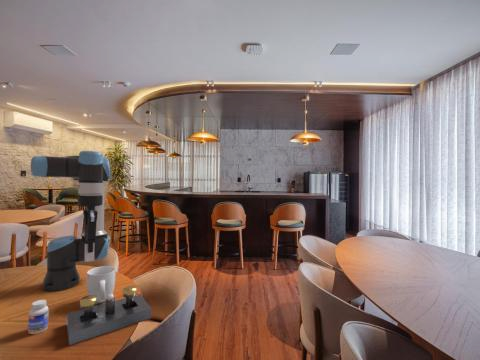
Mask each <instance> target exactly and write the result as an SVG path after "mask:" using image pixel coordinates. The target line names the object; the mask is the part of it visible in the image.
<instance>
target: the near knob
mask: <svg viewBox="0 0 480 360" xmlns="http://www.w3.org/2000/svg"><path fill="white" fill-rule="evenodd" d="M97 304H98V303H97V296H96V295H85V296H83V297H82V298H80V299H79V308H80V310H83V309H84V317H85V318H88V317H91V316H92V315H93V307H94V306H98V305H97Z"/></svg>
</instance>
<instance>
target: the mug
mask: <svg viewBox="0 0 480 360" xmlns="http://www.w3.org/2000/svg"><path fill="white" fill-rule="evenodd" d="M115 286H116V268H115V267H114V266H113V265H111V266H110V265H102V266H101V265H100V266H97V267H93V268H90V269H89V270H87V272H86V291H87V294H88V295H96V296H97V304H104V303H105V300H106V299H107V295H108V294H114V293H113V292H114V290H115ZM88 295H87V296H88Z"/></svg>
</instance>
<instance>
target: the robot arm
mask: <svg viewBox="0 0 480 360" xmlns="http://www.w3.org/2000/svg"><path fill="white" fill-rule="evenodd" d="M30 172H31V175H32V176H34V177H39V178H71V179H78V184H76V186H75V188H76V189H78V190H77V191H78V192H77V193H78V194H79V195H78V196H77V206H79V207H84V208H85V210H83V211H82V214H83V223H84V225H83V226H84V227H83V228H84V230H83V231H84V232H82V234H81V238H77V236H76V235H65V236H62V237H56V238H53V239H52V240H50V241H49V242H47V243H48V244H47V250H46V258H47V259H46V260H47V261H46V273H45V275H44V277H43V280H42V283H41V289H42V290H43V291H45V292H58V291H63V290H67V289H70V288H73V287H74V286H76V285H77V286H78V284H79V283H80V281H81V280H80V277H81V276H80V274H79V272H78V269H77V263H80V262H81V263H82V262H85V263H87V262H94V261H97V260H101V259H102V260H103V259H105V258H107V256H108V253H109V248H110V240H111V236H110V235H108V232H107V231H106V230H105V194H106V192H105V191H106V185H107V184H108V183H109V180H111V179H112V173H111V167H110V160H109V159H108V158H107V157H105V156H104V154H103V152H100V151H93V150H82V151H80V152H79V153H78V155H68V156H65V155H64V156H47V155H46V156H45V155H34V156H33V157H32V158H31V160H30Z"/></svg>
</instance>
